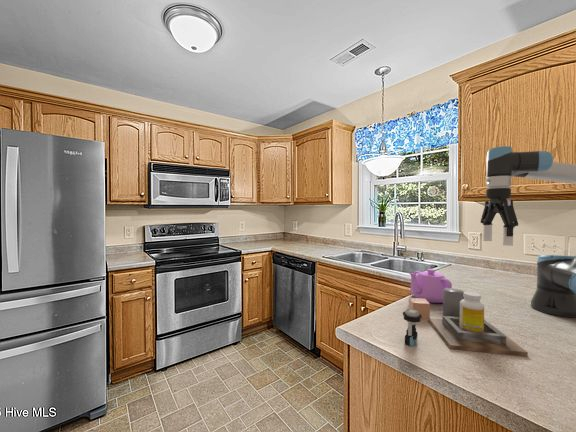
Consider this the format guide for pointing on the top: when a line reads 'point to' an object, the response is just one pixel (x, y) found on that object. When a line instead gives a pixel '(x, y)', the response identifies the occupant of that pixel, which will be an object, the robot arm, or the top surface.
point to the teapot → (429, 285)
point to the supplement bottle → (471, 313)
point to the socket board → (475, 338)
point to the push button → (411, 326)
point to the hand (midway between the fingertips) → (497, 243)
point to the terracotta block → (420, 306)
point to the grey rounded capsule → (452, 302)
